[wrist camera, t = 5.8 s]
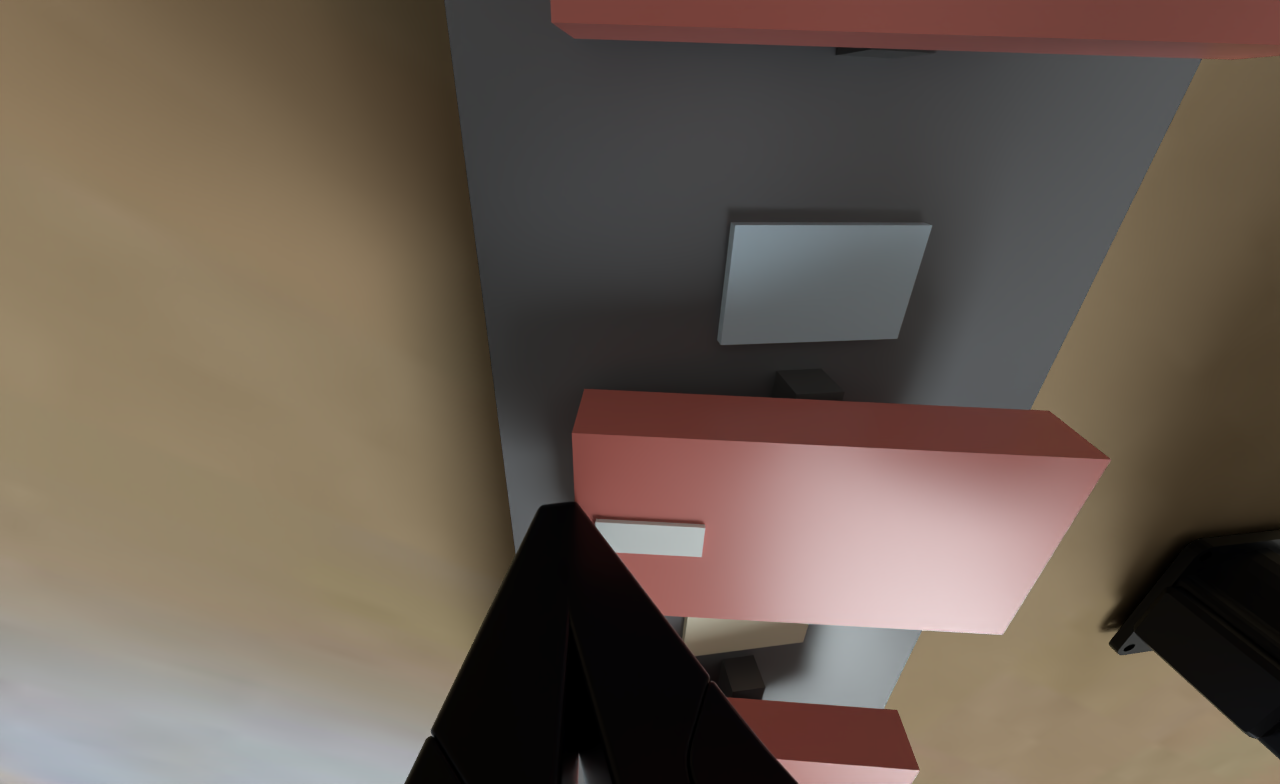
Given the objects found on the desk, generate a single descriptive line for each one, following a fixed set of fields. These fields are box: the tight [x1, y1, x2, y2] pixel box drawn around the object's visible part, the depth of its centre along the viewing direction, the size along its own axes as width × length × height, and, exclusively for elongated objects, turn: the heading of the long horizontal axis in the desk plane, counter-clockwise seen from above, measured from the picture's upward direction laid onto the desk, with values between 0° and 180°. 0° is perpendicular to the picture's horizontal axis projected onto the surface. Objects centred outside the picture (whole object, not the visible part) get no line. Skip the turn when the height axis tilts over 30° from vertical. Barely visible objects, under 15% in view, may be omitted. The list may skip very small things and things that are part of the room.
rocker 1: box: [572, 389, 1111, 635], centre depth 8 cm, size 7×4×1 cm, turn 88°
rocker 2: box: [727, 697, 920, 784], centre depth 12 cm, size 7×4×1 cm, turn 88°
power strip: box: [444, 0, 1202, 784], centre depth 12 cm, size 10×32×4 cm, turn 178°
